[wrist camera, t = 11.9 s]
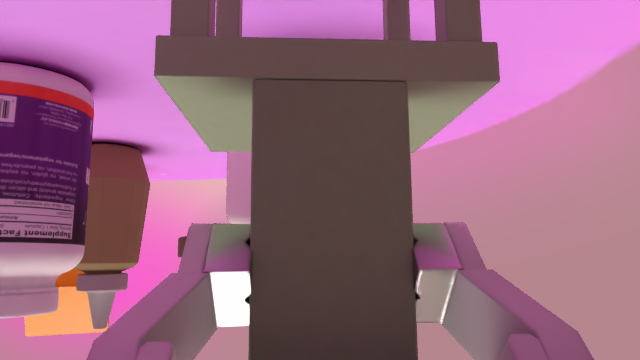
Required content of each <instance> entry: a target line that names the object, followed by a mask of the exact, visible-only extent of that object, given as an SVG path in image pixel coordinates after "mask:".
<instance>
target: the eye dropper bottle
mask: <svg viewBox="0 0 640 360" xmlns="http://www.w3.org/2000/svg"><path fill="white" fill-rule="evenodd" d="M226 198H227V199H226V214H227V219H228V221H229V222H230V223H231V224H250V220H251V152H227V196H226Z"/></svg>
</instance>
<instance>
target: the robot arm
mask: <svg viewBox="0 0 640 360" xmlns="http://www.w3.org/2000/svg"><path fill="white" fill-rule="evenodd" d="M413 241H414V247H413V270H414V291H415V295H416V322H417V323H442V325H443V326H444V328H445V329H446V330H447V331H448V332H449V333H450V334H451V335H452V336H453V337H454V338H455V339H456V340H457V342H458V343H459V344H460V345H461V346H462V347H463V348H464V349H465V350H466V351H467V352H468V354H469V355H470V356H471V357H472V358H473V359H474V360H594V359H593V357H592V355H591V354H590V352H589V350H588V348H587V347H586V345H585V343H584V341H583V340H582V338H581V336H580V335H579V333H578V331H576V330H575V329H574V328H572V327H571V326H569V325H568V324H567V323H565V322H564V321H563V320H561V319H560V318H558V317H557V316H556V315H554V314H553V313H552V312H550V311H549V310H547V309H546V308H545V307H543V306H542V305H540V304H539V303H538V302H536V301H535V300H534V299H532V298H531V297H530V296H528V295H527V294H525V293H524V292H523V291H521V290H520V289H519V288H517V287H516V286H514V285H513V284H512V283H510V282H509V281H508V280H506V279H505V278H503V277H502V276H501V275H499V274H498V273H497V272H495V271H494V270H487V269H486V267H485V265H484V262H483V260H482V258H481V256H480V254H479V252H478V250H477V247H476V245H475V243H474V241H473V239H472V236H471V234H470V232H469V230H468V228H467V226H466V224H465V223H463V222H450V223H449V222H447V223H413ZM251 275H252V249H251V248H250V224H216V223H214V224H193V223H192V224H191V226H190V227H189V230H188V234H187V238H186V242H185V246H184V250H183V254H182V258H181V262H180V266H179V270H178V273H172V274H170V275H169V276H168V277H167V278H166V279H165V280H163V281H162V282H161V283H160V284H159V285H158V286H157V287H155V288H154V289H153V290H152V291H151V292H150V293H148V294H147V295H146V296H145V297H144V298H143V299H141V300H140V301H139V302H138V303H137V304H136V305H135V306H133V307H132V308H131V309H130V310H129V311H128V312H126V313H125V314H124V315H123V316H122V317H121V318H120V319H118V320H117V321H116V322H115V323H114V324H113V325H112V326H110V327H109V328H108V329H107V330H106V331H105V332H103V333H102V334H101V335H100V336H99V337H98V338H97V339H96V340H94V342H93V344H92V348H91V349H90V352H89V355H88V358H87V360H194V358H195V357H196V356H197V354H198V353H199V352H200V351H201V349H202V348H203V347H204V345H205V344H206V343H207V342H208V340H209V339H210V338H211V336H212V335H213V334H214V333H215V331H216V330H217V327H230V326H231V327H232V326H249V295H250V294H251Z"/></svg>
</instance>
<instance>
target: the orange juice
mask: <svg viewBox="0 0 640 360" xmlns="http://www.w3.org/2000/svg"><path fill="white" fill-rule="evenodd" d="M78 274H84V272H83V271H80V270H77V269H74V268H73V269H72V270H70V271H68V272H65V273H63V274H61V275H59V276H58V278H57V279H56V282H55V287H59V290H57V291H58V292H59V298H58V309H57V311H55V312H52V313H47V314H40V315H33V316H25V331H26V336H43V335H61V334H79V333H96V332H105V331H106V330H107V329H108V323H109V319H108V323H107V326H106V328H103V329H93V324H92V318H91V312H90V306H89V299H88V293H87V292H82V291H77V290H76V287H77V275H78Z"/></svg>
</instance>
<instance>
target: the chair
mask: <svg viewBox="0 0 640 360" xmlns="http://www.w3.org/2000/svg"><path fill="white" fill-rule="evenodd" d="M434 8H435V29H436V41H411V40H410V15H409V0H383V28H384V40H357V39H308V38H259V37H242V0H217V7H216V37H215V0H172V2H171V26H170V36H161V35H158V36H156V48H155V70H154V76H155V78H156V79H157V80H158V82H159V83H160V84H161V86H162V87H163V88H164V90H165V91H166V92H167V94H168V95H169V96H170V97H171V99H172V100H173V101H174V103H175V104H176V105H177V107H178V108H179V109H180V111H181V112H182V113H183V115H184V116H185V117H186V119H187V120H188V121H189V123H190V124H191V125H192V127H193V128H194V129H195V131H196V132H197V133H198V135H199V136H200V137H201V139H202V140H203V141H204V143H205V144H206V145H207V147H208V148H209V149H210V151H217V152H251V220H250V248H251V249H252V275H251V294H250V295H249V360H418V348H417V322H416V295H415V291H414V270H413V247H414V241H413V218H412V217H413V215H412V188H411V161H410V153H413V152H415V151H416V150H417V149H418V148H420V147H421V146H422V145H423V144H425V143H426V142H427V141H428V140H429V139H431V138H432V137H433V136H434V135H435V134H437V133H438V132H439V131H440V130H441V129H443V128H444V127H445V126H446V125H448V124H449V123H450V122H451V121H452V120H454V119H455V118H456V117H457V116H458V115H460V114H461V113H462V112H463V111H465V110H466V109H467V108H468V107H469V106H471V105H472V104H473V103H474V102H475V101H477V100H478V99H479V98H480V97H481V96H483V95H484V94H485V93H486V92H488V91H489V90H490V89H491V88H492V87H494V86H495V85H496V84H497V83H498V82H499V81H500V76H499V61H498V47H497V43H496V42H482V31H481V15H480V0H434Z"/></svg>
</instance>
